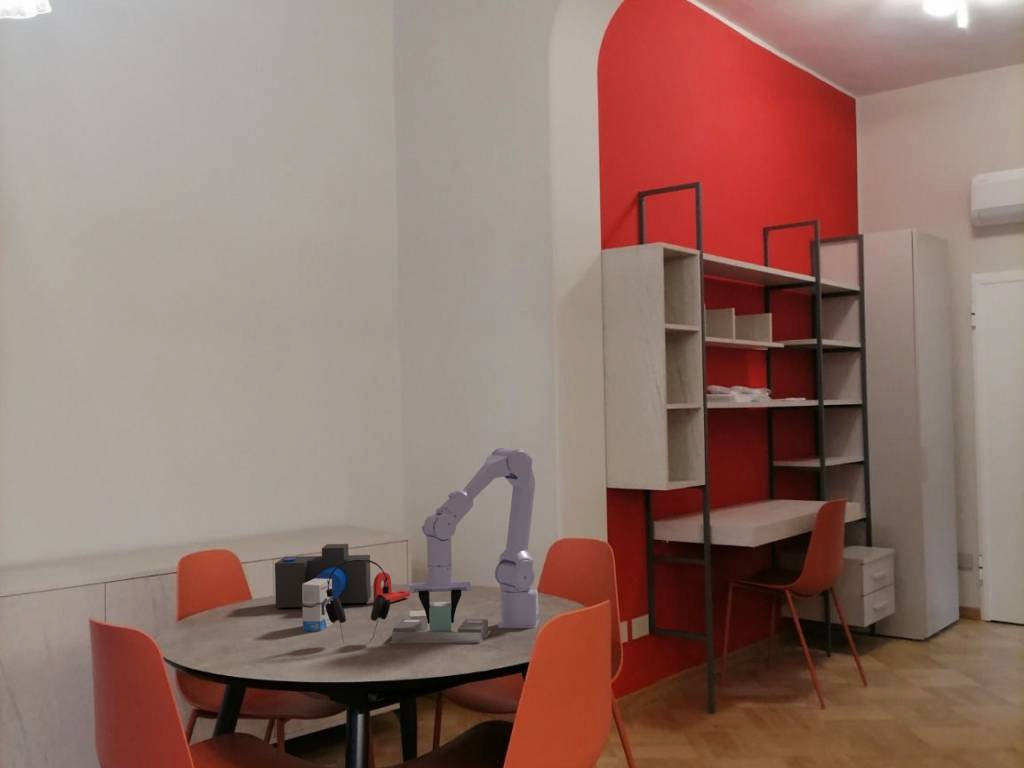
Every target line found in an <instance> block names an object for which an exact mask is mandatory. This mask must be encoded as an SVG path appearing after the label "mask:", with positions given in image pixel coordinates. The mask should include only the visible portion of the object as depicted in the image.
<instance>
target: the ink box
mask: <svg viewBox="0 0 1024 768" xmlns="http://www.w3.org/2000/svg"><path fill="white" fill-rule="evenodd" d="M327 580H328V581H329V579H312V580H310V581H308V582H306V583H304V584H303V585H302V604H303V607H302V632H322V631H323V630H325V629H327V628H329V627H330V626H332V625H333V624H334V623H332V622H331V621H330V619H329V617H328V614H327V611H326V607H325V605H326V604H327V603H330V601H331V600H332V596H331V600H330V597H327V592H326V590H327V589H328V582H327ZM329 589H332V579H330V582H329Z"/></svg>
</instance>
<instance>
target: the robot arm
mask: <svg viewBox="0 0 1024 768" xmlns="http://www.w3.org/2000/svg"><path fill="white" fill-rule="evenodd" d="M497 478H499V479H500V478H505V479H506V480H507V481H508V483H509V484H510V486H512V492H511V493H512V494H511V501H510V503H511V504H510V511H509V519H508V520H509V521H508V527H507V535H506V536H507V537H506V538H507V539H506V545H505V546H506V547H505V549H504V551H502V553H501V554H500V555H499V559H498V560H499V561H498V563H497V565H496V567H495V569H494V579H495V580H496V582H497V583H498V584H499V588H500V617H501V618H500V619H501V620H500V623H498V625H497V628H499V629H536V628H537V626H538V624H539V622H540V611H539V607H540V606H539V592H538V589H531V587H532V586H533V584H534V582H535V578H536V577H535V576H536V575H535V571H534V565H533V564H534V560H533V558H532V557H531V555H530V553H529V552H528V551H529V544H530V543H529V542H530V533H531V522H532V514H533V507H534V497H535V490H536V489H535V488H536V478H535V475H534V471H533V458H532V457H531V456H530V454H529V453H528V452H527V451H525V450H524V449H521V448H518V449H517V448H516V449H514V448H513V449H512V448H503V447H498V448H496V449H494V450H493V451H492V452H491V454H489V455H488V456H487V457H486V459H485V462H484V464H483V465H482V466H481V467H480V468H479V470H478V471H477V472H476V473H475V475H474V476H472V477H471V479H470V481H469V482H468V483H467V484H466V486H465V487H464V488H463V489H462V490H455V491H454V492H450V493H449V494H448V495H447V496H448V498H447V500H445V501H444V503H443V504H442V505H441V506H440V507H437V508H436V509H435V513H432V514H429V515H428V516H427V517H426V518H425V519H424V523H423V525H422V526H421V530H422V533H423V534H424V536H425V537H426V538H425V539H426V551H427V552H426V553H427V554H426V555H427V582H417V583H409V585H408V586H409V587H408V590H409V593H410V594H414V593H418V599H419V601H420V603H421V605H422V607H423V609H424V610H425V613H426V617H427V625H428V624H429V625H430V619H429V608H430V602H431V601H430V597H431V596H430V595H431V594H430V593H440V592H441V593H444V592H450V601H451V624H453V623H454V622H455V615H456V610H457V607H458V605H459V604H458V603H459V601H460V599H461V597H462V592H471V591H472V589H471V588H472V587H471V586H472V584H471V581H456V580H455V581H453V574H452V573H453V568H452V565H453V564H452V537H453V536H454V535H455V533H456V531H457V525H458V524H459V523H460V522H461V521H462V519H464V517H465V516H466V515H467V514H468V513H469V512H470V510H472V509H473V506H474V499H475V498H476V497H477V496H479V495H480V493H482V491H483V490H484V489H486V488H487V487H488V486H489V485H490V484H491V483H492V482H493V481H494V480H495V479H497Z"/></svg>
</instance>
